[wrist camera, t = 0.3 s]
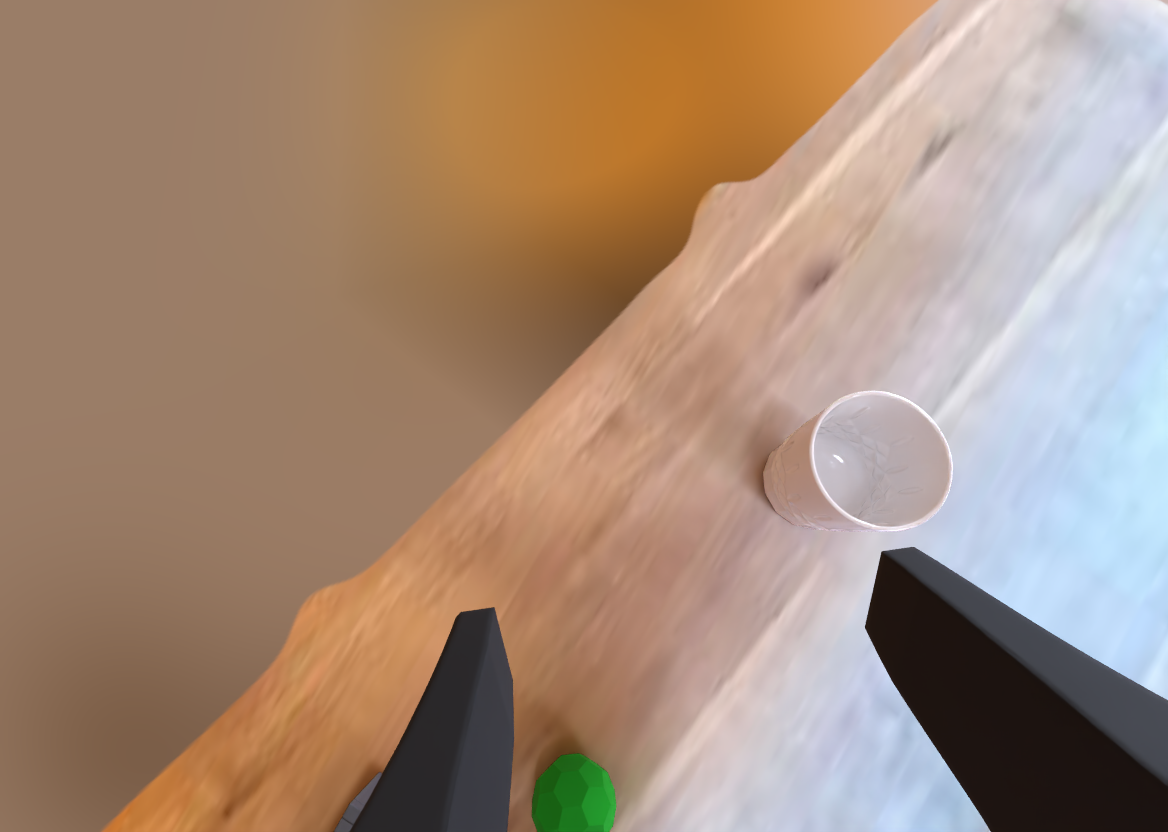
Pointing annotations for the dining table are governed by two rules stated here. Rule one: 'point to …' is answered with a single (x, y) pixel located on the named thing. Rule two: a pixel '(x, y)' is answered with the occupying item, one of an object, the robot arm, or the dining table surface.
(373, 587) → the dining table surface
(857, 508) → the white cup
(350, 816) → the grey box
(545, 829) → the polyhedron
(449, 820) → the robot arm
